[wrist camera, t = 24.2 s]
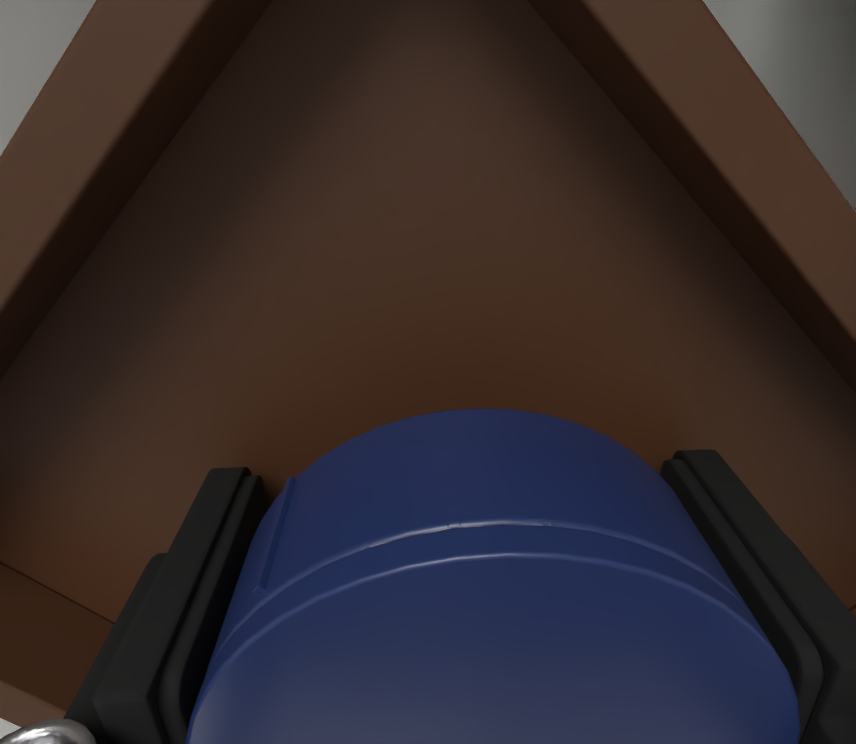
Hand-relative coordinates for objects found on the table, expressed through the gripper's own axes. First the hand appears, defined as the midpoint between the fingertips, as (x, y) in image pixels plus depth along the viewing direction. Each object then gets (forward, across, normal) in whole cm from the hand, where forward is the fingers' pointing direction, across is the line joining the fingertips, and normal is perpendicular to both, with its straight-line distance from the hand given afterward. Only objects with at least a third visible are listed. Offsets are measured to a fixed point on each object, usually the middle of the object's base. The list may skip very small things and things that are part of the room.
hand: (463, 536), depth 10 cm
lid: (-3, 0, 0) cm, 3 cm away
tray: (+1, 0, 0) cm, 1 cm away
